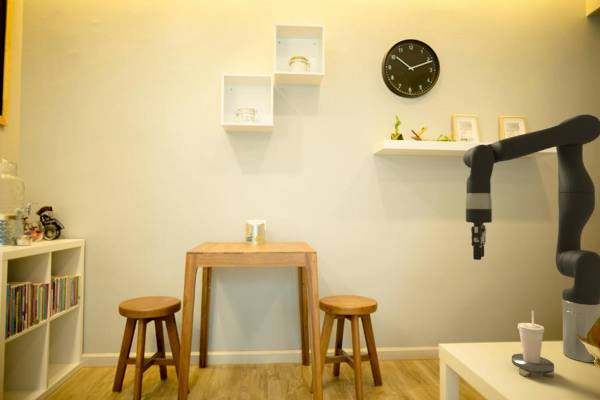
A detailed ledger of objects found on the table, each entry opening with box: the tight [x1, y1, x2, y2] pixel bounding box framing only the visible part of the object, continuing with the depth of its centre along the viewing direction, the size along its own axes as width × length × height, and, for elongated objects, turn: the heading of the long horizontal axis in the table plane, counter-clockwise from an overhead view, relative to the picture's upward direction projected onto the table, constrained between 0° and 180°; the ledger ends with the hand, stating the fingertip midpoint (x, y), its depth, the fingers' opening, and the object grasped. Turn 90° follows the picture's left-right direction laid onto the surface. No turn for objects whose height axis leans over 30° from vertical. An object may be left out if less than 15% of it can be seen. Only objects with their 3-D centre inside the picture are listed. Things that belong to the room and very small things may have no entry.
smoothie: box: [517, 310, 545, 363], centre depth 100 cm, size 6×6×14 cm
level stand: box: [511, 353, 555, 379], centre depth 99 cm, size 10×10×3 cm
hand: (478, 258), depth 114 cm, fingers open, 8 cm apart
